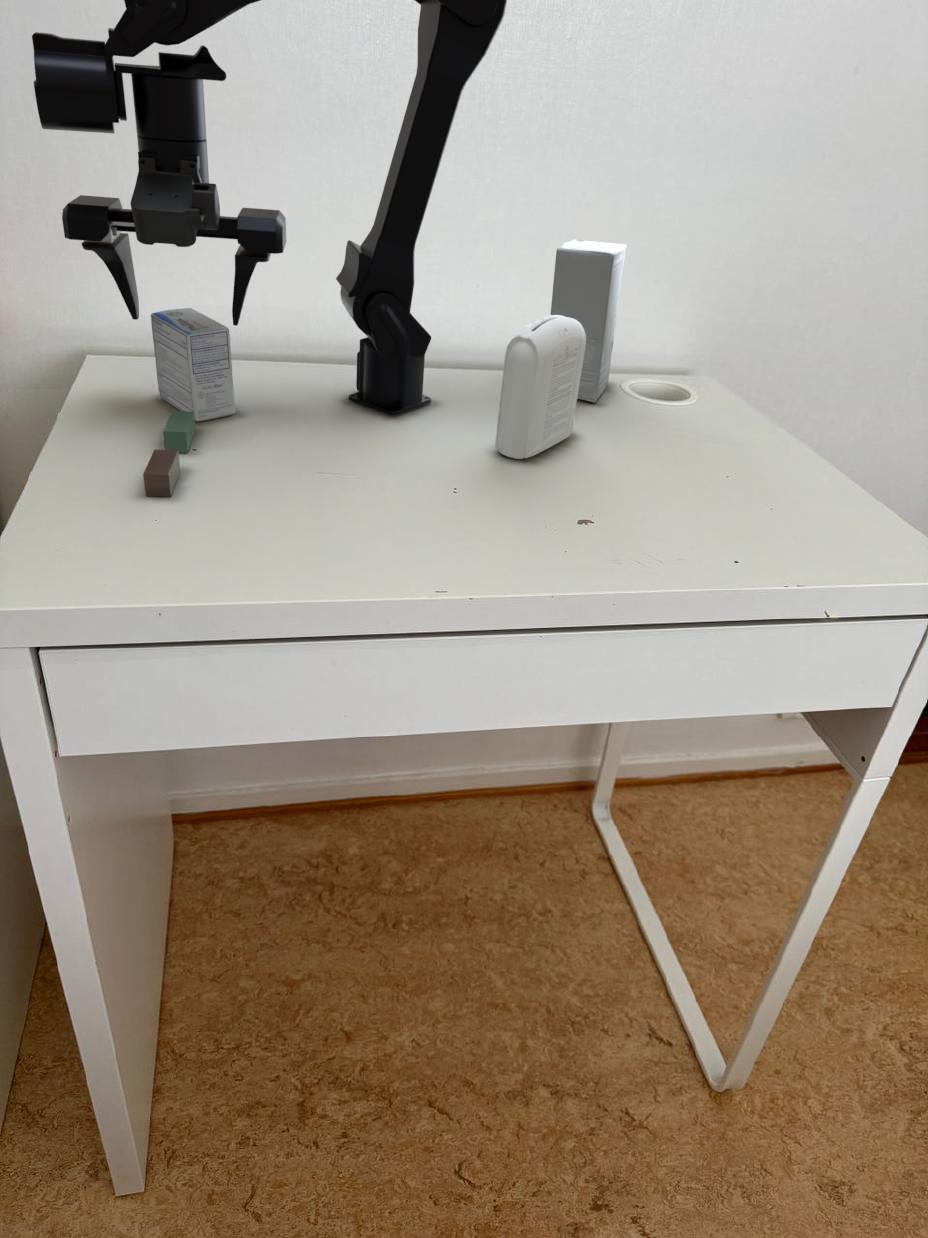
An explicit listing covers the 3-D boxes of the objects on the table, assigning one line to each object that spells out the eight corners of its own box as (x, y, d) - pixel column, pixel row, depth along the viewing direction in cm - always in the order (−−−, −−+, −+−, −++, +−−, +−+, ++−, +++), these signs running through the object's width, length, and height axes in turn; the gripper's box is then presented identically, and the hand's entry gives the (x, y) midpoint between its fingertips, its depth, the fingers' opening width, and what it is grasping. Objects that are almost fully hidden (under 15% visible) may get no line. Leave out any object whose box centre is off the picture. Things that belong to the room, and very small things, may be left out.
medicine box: (236, 415, 90) (231, 327, 86) (195, 423, 88) (187, 333, 83) (198, 391, 95) (191, 306, 90) (157, 398, 92) (148, 311, 88)
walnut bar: (170, 497, 74) (168, 474, 73) (145, 496, 74) (142, 473, 73) (180, 471, 79) (178, 449, 77) (156, 470, 78) (154, 448, 77)
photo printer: (541, 424, 95) (557, 303, 89) (577, 436, 93) (596, 313, 87) (487, 452, 88) (501, 322, 81) (525, 465, 86) (542, 333, 79)
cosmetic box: (596, 404, 102) (621, 255, 93) (534, 393, 103) (554, 245, 95) (610, 383, 109) (634, 242, 100) (552, 372, 110) (571, 233, 102)
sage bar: (187, 453, 82) (185, 431, 81) (164, 452, 82) (162, 430, 81) (195, 431, 86) (194, 411, 85) (173, 430, 86) (171, 410, 85)
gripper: (29, 138, 70) (60, 340, 79) (276, 158, 73) (280, 353, 81) (67, 123, 79) (91, 306, 88) (285, 142, 82) (288, 318, 90)
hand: (186, 321), depth 87 cm, fingers open, 9 cm apart
